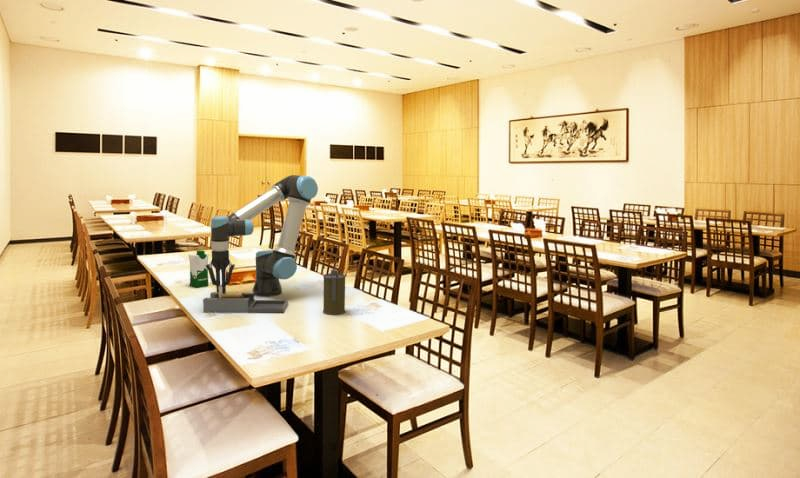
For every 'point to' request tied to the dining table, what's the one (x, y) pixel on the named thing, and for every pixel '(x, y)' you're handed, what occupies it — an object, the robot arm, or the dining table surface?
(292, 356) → the dining table surface
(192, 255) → the milk carton
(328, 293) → the canister
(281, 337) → the dining table surface
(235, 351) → the dining table surface
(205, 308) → the slot plate
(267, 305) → the tray
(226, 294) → the brass block
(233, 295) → the brass block
